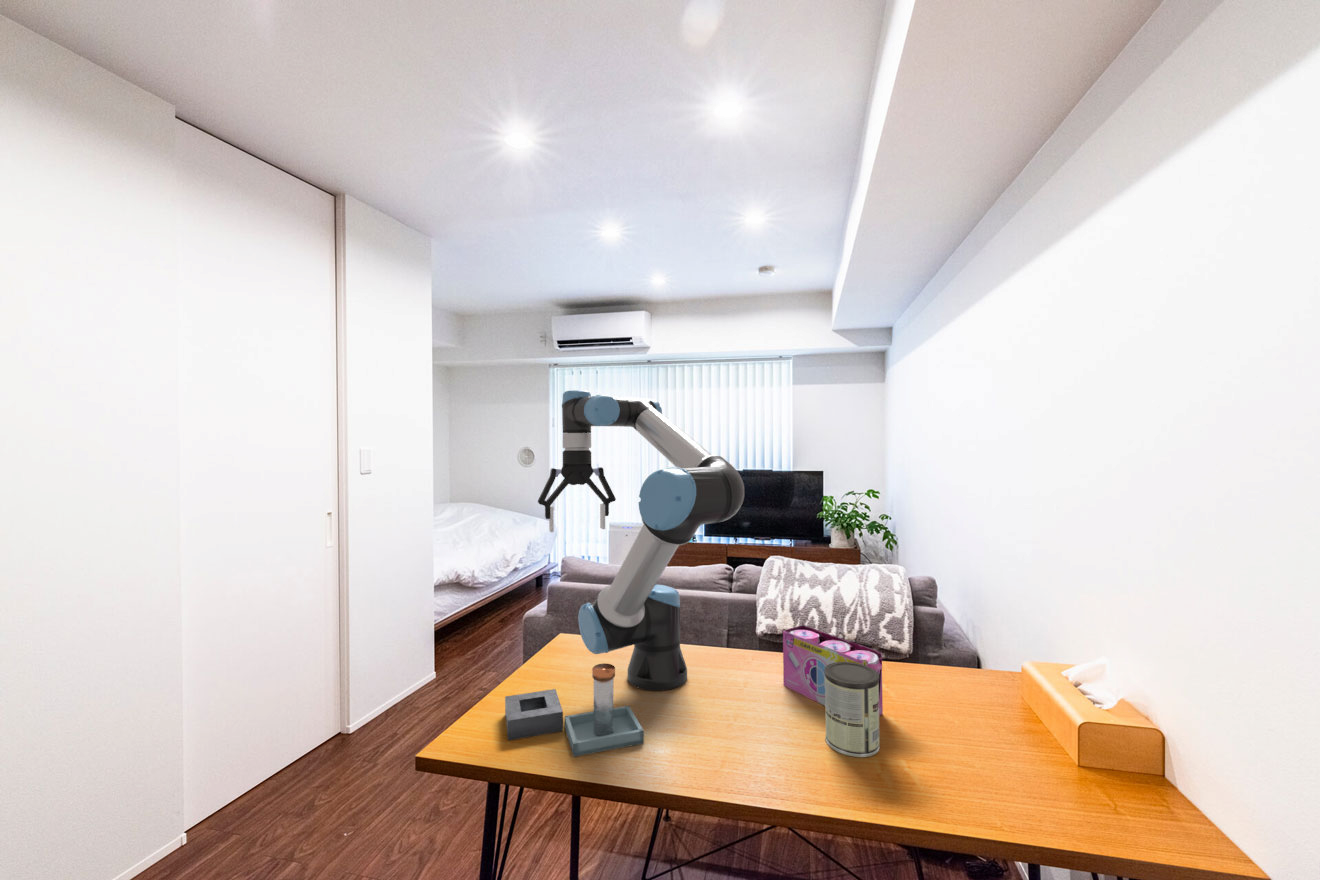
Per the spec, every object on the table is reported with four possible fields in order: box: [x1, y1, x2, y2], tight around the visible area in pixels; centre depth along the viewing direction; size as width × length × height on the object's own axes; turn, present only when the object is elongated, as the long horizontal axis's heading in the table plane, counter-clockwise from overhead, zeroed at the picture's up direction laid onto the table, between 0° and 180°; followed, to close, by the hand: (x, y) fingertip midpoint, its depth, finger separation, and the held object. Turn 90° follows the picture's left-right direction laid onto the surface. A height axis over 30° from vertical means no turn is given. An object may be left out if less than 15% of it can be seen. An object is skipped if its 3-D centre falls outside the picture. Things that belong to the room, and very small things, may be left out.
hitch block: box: [504, 688, 564, 741], centre depth 116 cm, size 11×11×4 cm
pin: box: [591, 663, 616, 737], centre depth 111 cm, size 5×5×13 cm
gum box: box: [782, 624, 884, 716], centre depth 126 cm, size 24×8×14 cm, turn 34°
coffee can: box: [824, 662, 881, 758], centre depth 108 cm, size 10×10×14 cm
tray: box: [564, 705, 645, 757], centre depth 111 cm, size 14×11×2 cm
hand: (577, 530), depth 144 cm, fingers open, 13 cm apart
